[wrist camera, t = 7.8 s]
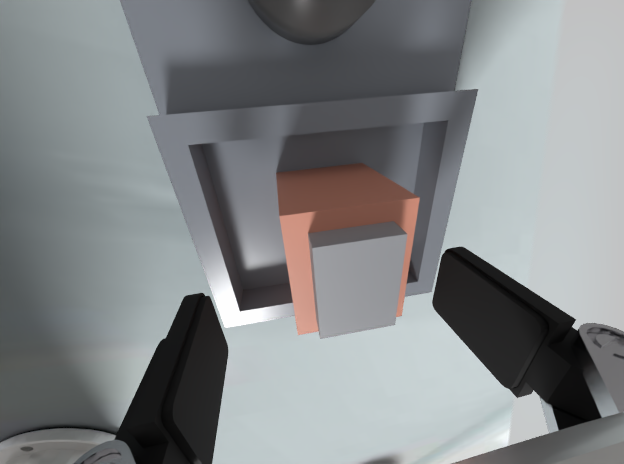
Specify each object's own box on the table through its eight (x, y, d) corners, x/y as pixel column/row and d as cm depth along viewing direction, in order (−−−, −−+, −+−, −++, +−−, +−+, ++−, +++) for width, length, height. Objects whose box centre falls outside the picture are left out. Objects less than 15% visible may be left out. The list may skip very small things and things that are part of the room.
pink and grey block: (359, 249, 16) (412, 333, 10) (289, 260, 16) (300, 355, 10) (362, 162, 14) (437, 208, 7) (276, 172, 13) (280, 229, 7)
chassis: (413, 270, 19) (445, 306, 16) (228, 300, 18) (218, 348, 14) (494, -197, 9) (643, -401, 5) (54, -220, 7) (-149, -528, 4)
